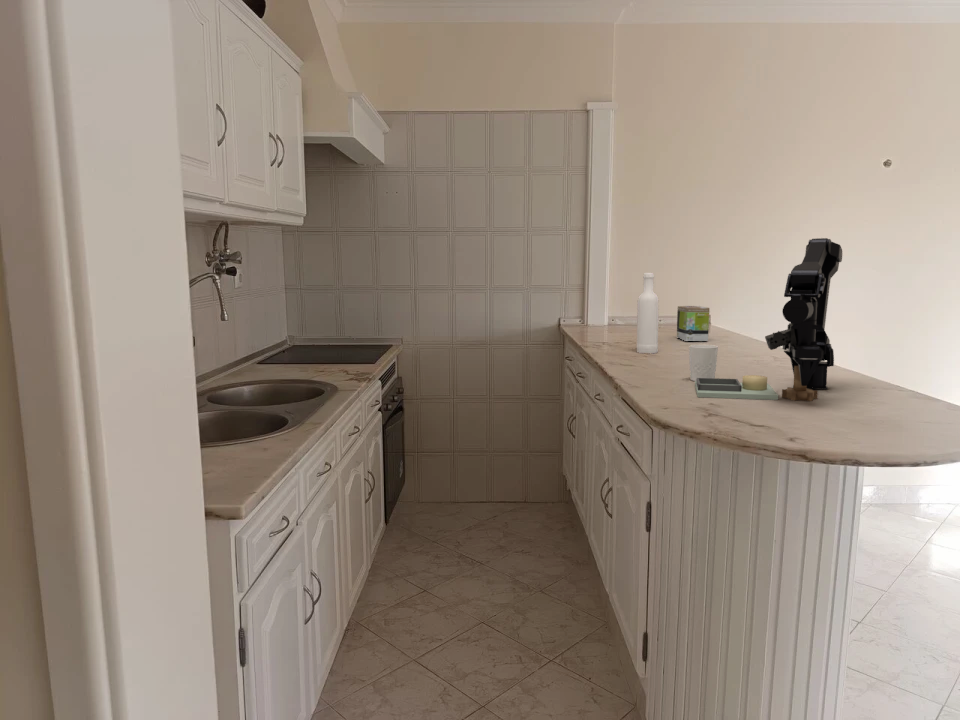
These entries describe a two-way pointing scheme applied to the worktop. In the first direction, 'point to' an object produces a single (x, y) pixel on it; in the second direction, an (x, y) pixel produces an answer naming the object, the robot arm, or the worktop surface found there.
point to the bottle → (647, 317)
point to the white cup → (702, 361)
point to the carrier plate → (736, 388)
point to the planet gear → (799, 389)
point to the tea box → (693, 323)
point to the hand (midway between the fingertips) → (800, 382)
